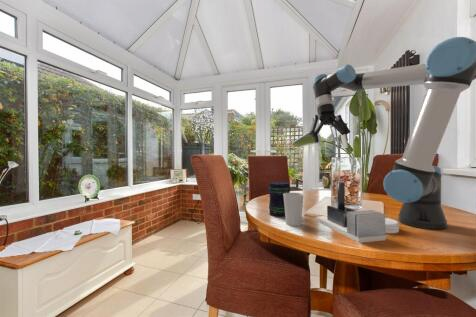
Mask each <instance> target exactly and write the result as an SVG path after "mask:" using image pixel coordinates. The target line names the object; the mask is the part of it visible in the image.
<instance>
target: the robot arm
mask: <svg viewBox="0 0 476 317" xmlns="http://www.w3.org/2000/svg"><path fill="white" fill-rule="evenodd" d="M474 80H476V40H474V39H471V38H469V37H465V36H456V37H450V38H448V39H445V40H443V41H442V42H440V43H438V44H437V45H436V46H434V47H433V48H432V49H431V50H430V51H429V52H428V54H427V56H426V58H425V61H424V63H419V64H413V65H408V66H401V67H394V68H387V69H381V70H373V71H369V72H363V73H361V72H360V73H356V70H355V68H354V66H352V65H351V64H345V65H343V66H341V67H339V68H338V69H336V70H334V71H333V72H331V73H330V74H328V75H327V74H326V73H320V74H318V75H316V76H314V78H313V79H312V89H313V92H314V98H315V104H316V111H317V114H315V115H313V117H312V123H311V126H310V130H309V133H308V134H309V136H311V137H312V138H313V141H314V143H315V144H316V149H317V151H319V150H322V149H323V146H322V141H321V134H319V133H320V132H321V130H322V128H323V127H324V126H331V127H333V128H334V129H335V130H336V131H337V132H338V133H340V139H341V140H340V141H341V144H342V145H341V146H342V149H343V150H346V149H348V148H349V144H348V141H349V139H348V134H350V133H351V130H350V128H349V126H348V125H347V124H346V122H345V121H344V120H343V117H342V115H341V114H338V115H336V114H335V113H336V112H335V111H336V110H335V106H334V100H333V96H332V95H333V94H332V92H333V91H336V90H337V89H339V88H343V89H347V90H350V91H353V92H363V91H364V90H370V89H371V90H372V89H373V90H374V89H383V88H394V87H405V86H414V85H415V86H416V85H417V86H418V85H423V86H424V88H425V89H426V90H425V93H424V97H423V98H422V101H421V105H420V107H419V110H418V113H417V116H416V118H415V121H414V124H413V127H412V129H411V131H410V135H409V137H408V140H407V142H406V146H405V148H404V151H403V154H402V157H400V158H399V159H396V160H395V161H394V165H393V168H392V169H391V171H389V172H388V173H387V174H386V175H385V176H384V178H383V183H382V184H383V188H384V191H385V193H386V194H387V196H388V197H390V198H391V199H392V200H394V201H396V202H399V203H402V205H401V207H400V210H399V213H398V215H397V216H398V217H397V219H398V220H397V222H399V223H401V224H403V225H406V226H411V227H414V228H420V229H426V230H427V229H429V230H444V229H447V228H448V220H447V219H446V215H445V212H444V211H443V208H442V175H443V173H442V170H441V168H440V167H439V166H436V165H433V163H434V159H435V158H436V156H437V152H438V150H439V147H440V145H441V142H442V140H443V138H444V135H445V133H446V130H447V127H448V125H449V123H450V120H451V117H452V115H453V114H454V113H453V112H454V109H455V107H456V105H457V102H458V100H459V98H460V95H461V93H462V92H464V91H466V90H468V89H470V86H471V84H472V82H473V81H474ZM318 121H320V122H319V124H318ZM317 125H318V126H317Z"/></svg>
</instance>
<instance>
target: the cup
mask: <svg viewBox="0 0 476 317" xmlns="http://www.w3.org/2000/svg"><path fill="white" fill-rule="evenodd" d="M283 196H284V206H285V217H284V218H285V225H287V226H290V227H300V226H302V225H303V222H302V220H303V206H304V205H303V204H304V194H303V193H300V192H290V193H284V194H283Z"/></svg>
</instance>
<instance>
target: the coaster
mask: <svg viewBox="0 0 476 317" xmlns="http://www.w3.org/2000/svg"><path fill="white" fill-rule="evenodd" d="M399 232H400V222H399V221H398V220H396V219H392V218H388V217H385V234H389V235H390V234H398V233H399Z"/></svg>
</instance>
